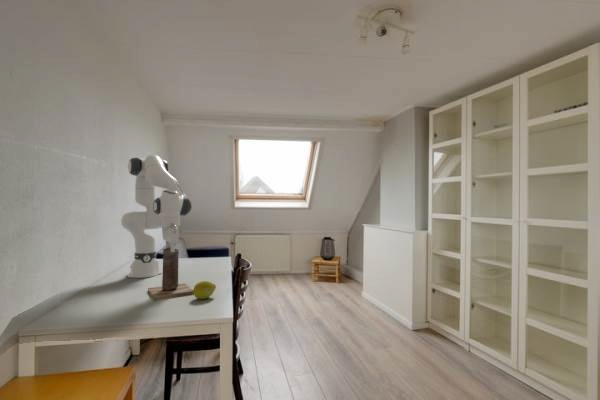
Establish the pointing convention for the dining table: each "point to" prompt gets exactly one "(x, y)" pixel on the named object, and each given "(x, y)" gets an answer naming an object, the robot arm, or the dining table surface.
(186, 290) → the walnut board
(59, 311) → the dining table surface
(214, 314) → the dining table surface
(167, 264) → the wooden log
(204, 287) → the lemon
